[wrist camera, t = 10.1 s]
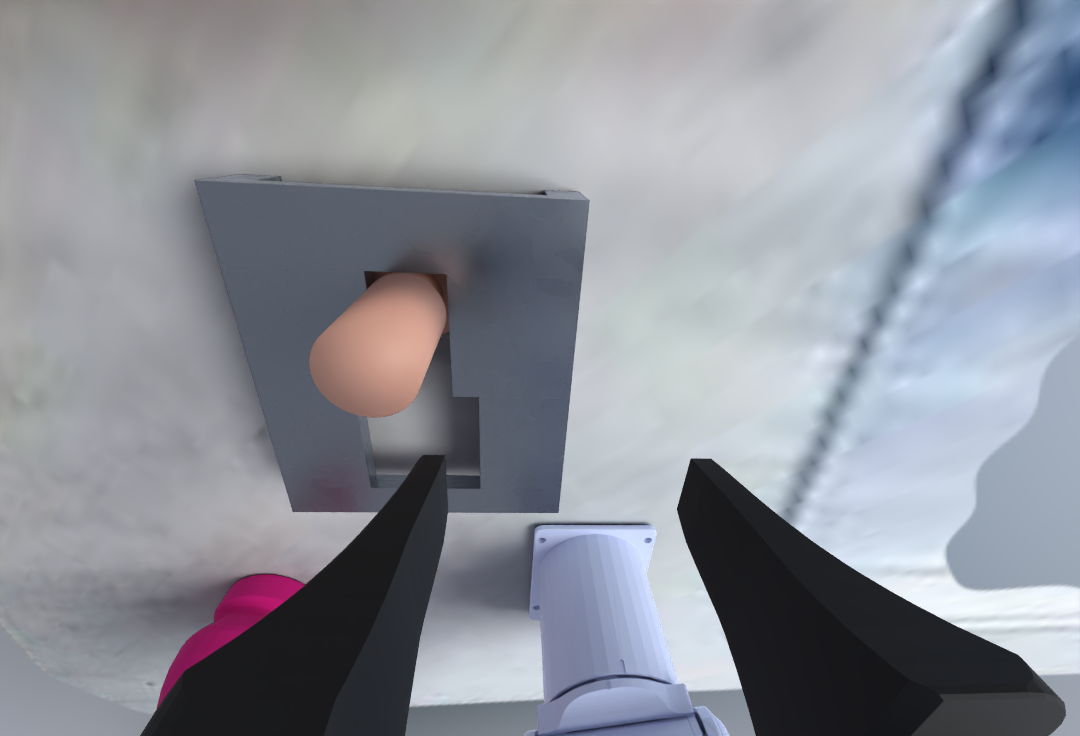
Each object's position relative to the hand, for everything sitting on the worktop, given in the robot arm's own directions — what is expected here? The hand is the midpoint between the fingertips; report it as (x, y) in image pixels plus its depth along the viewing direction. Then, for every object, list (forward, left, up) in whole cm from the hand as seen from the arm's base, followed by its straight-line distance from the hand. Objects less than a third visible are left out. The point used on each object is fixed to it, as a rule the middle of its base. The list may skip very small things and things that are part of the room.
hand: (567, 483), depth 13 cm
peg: (+3, +6, -10) cm, 12 cm away
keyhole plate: (-1, +6, -10) cm, 12 cm away
